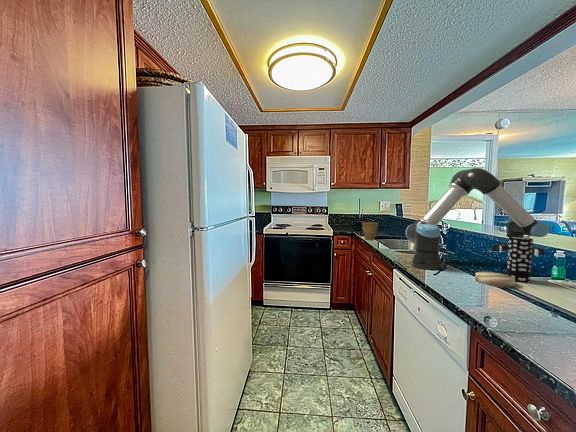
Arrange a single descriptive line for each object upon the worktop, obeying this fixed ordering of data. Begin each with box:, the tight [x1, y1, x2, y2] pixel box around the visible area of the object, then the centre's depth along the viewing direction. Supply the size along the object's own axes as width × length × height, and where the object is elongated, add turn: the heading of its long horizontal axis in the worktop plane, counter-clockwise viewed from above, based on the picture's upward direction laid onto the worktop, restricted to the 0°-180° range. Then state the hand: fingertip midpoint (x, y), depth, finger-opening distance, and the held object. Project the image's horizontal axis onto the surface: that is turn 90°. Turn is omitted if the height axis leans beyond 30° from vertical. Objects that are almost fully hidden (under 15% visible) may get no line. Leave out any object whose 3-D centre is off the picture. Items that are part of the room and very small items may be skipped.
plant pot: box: [361, 221, 379, 241], centre depth 242 cm, size 15×15×16 cm
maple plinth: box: [474, 271, 516, 289], centre depth 117 cm, size 14×14×3 cm
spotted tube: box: [506, 237, 534, 284], centre depth 120 cm, size 8×8×20 cm
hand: (518, 251), depth 127 cm, fingers open, 13 cm apart
